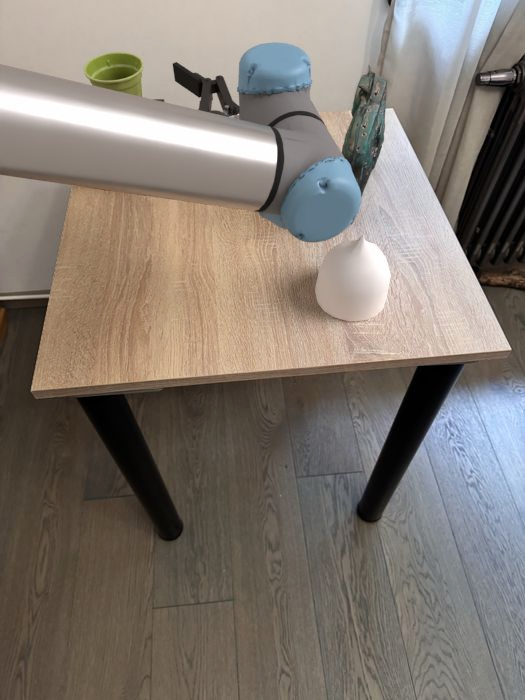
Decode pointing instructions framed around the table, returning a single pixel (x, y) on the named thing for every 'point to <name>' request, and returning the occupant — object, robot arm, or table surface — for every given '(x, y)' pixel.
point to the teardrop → (353, 281)
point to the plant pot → (116, 72)
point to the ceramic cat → (366, 127)
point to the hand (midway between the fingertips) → (138, 86)
